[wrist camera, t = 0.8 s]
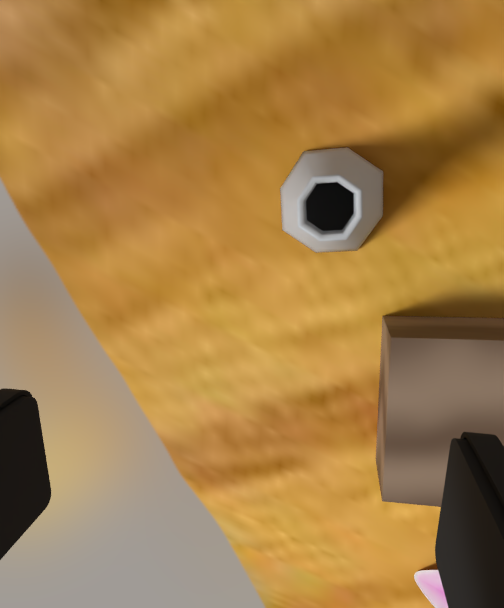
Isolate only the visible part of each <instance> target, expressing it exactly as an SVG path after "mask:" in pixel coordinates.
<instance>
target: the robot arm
mask: <svg viewBox="0 0 504 608" xmlns="http://www.w3.org/2000/svg"><path fill="white" fill-rule="evenodd" d="M50 497H51V488H50V481H49V474H48V468H47V462H46V455H45V449H44V443H43V436H42V430H41V423H40V418H39V411H38V405H37V401H36V399H35V398H33V397H32V395H31V394H30V392H28V391H26V390H16V389H1V390H0V560H1V558H2V557H3V556H4V555H5V554H6V553H7V552H8V550H9V549H10V548H11V547H12V546H13V545H14V543H15V542H16V541H17V540H18V539H19V538H20V537H21V536H22V535H23V533H24V532H25V531H26V530H27V529H28V528H29V527H30V526H31V524H32V523H33V522H34V521H35V520H36V519H37V518H38V516H39V515H40V514H41V513H42V512H43V510H45V508H46V507H47V505H48V503H49V501H50ZM435 554H436V563H437V568H438V571H439V575H440V579H441V582H442V586H443V590H444V593H445V597H446V601H447V604H448V608H504V446H503V445H502V443H501V441H500V440H499V438H498V437H497V436H496V435H493V434H484V433H473V432H463V433H462V435H461V437H460V439H459V438H453V439H452V440H451V444H450V450H449V457H448V463H447V470H446V477H445V484H444V491H443V497H442V504H441V511H440V518H439V525H438V531H437V538H436V546H435Z"/></svg>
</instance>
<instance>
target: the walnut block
mask: <svg viewBox="0 0 504 608" xmlns="http://www.w3.org/2000/svg"><path fill="white" fill-rule="evenodd" d="M463 432H473V433H484V434H493V435H496V436H497V437H498V438H499V440H500V441H501V443H502V445H503V446H504V318H471V317H417V316H383V318H382V340H381V361H380V382H379V404H378V425H377V446H376V464H377V471H378V477H379V483H380V490H381V496H382V501H386V502H396V503H407V504H417V505H427V506H438V507H441V504H442V497H443V491H444V484H445V477H446V470H447V463H448V457H449V450H450V444H451V440H452V439H453V438H459V439H460V437H461V435H462V433H463Z"/></svg>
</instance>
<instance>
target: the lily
mask: <svg viewBox="0 0 504 608" xmlns="http://www.w3.org/2000/svg"><path fill="white" fill-rule="evenodd" d="M414 578H415V581H416V583H417V584H418V586H419V588H420V589H421V591H422V592H423V593H424V595H425V596H426V597H427V599H428V600H429V601H430V602H431V603H432V605H433V606H434V607H435V608H448V604H447V601H446V597H445V593H444V590H443V586H442V582H441V579H440V575H439V571H438V570H421V571H418V572H416V574H415V575H414Z"/></svg>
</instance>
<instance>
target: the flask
mask: <svg viewBox="0 0 504 608" xmlns="http://www.w3.org/2000/svg"><path fill="white" fill-rule="evenodd" d="M280 193H281V211H282V230H283V231H285V232H286V233H288V234H289V235H291V236H292V237H294V238H295V239H297V240H298V241H300V242H301V243H302V244H304V245H305V246H307V247H308V248H310V249H311V250H313V251H314V252H338V251H357V250H358V249H359V248H360V246H361V245H362V243H363V242H364V241H365V239H366V238H367V237H368V235H369V234H370V233H371V231H372V230H373V229H374V227H375V226H376V225H377V223H378V222H379V220H380V219H381V218H382V216H383V171H382V170H380V169H379V168H377V167H376V166H374V165H373V164H371V163H370V162H368V161H367V160H365V159H364V158H362V157H361V156H359V155H358V154H356V153H355V152H353V151H352V150H351V149H349V148H348V147H345V148H334V149H324V150H313V151H304V152H303V153H302V155H301V156H300V158H299V160H298V161H297V163H296V164H295V166H294V167H293V169H292V171H291V172H290V174H289V175H288V177H287V179H286V180H285V182H284V183H283V185H282V186H281V188H280Z"/></svg>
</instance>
